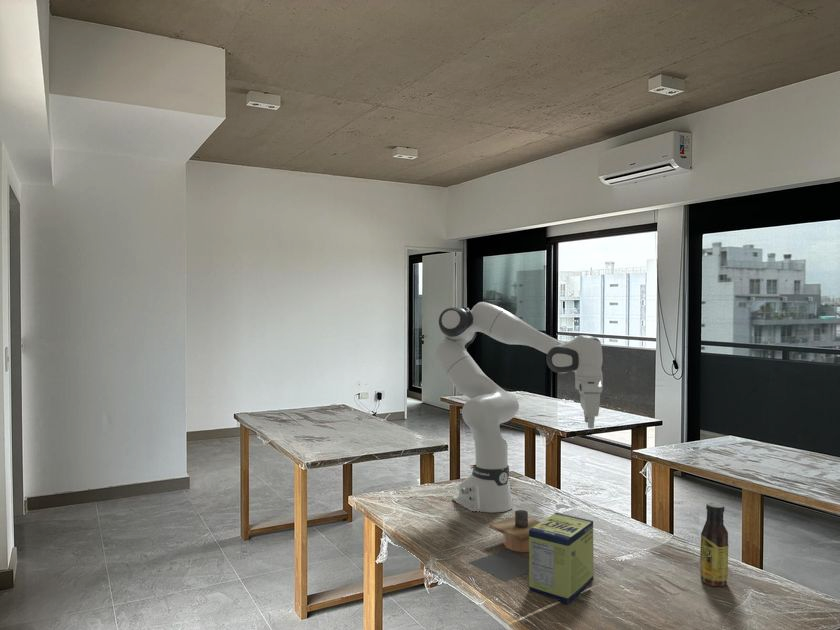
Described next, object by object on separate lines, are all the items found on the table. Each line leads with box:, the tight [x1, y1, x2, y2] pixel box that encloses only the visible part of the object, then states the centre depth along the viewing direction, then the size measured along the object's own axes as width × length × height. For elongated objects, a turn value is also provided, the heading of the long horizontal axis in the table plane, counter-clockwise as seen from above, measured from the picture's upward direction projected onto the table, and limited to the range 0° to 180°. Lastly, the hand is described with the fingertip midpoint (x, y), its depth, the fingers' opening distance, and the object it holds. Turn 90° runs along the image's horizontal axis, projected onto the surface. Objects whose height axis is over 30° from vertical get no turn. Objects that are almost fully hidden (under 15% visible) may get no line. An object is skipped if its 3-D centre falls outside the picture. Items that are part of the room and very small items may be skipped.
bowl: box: [502, 533, 529, 553], centre depth 176 cm, size 10×10×5 cm
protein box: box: [528, 512, 594, 605], centre depth 151 cm, size 10×16×16 cm
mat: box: [468, 549, 529, 582], centre depth 163 cm, size 14×14×1 cm
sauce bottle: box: [699, 501, 729, 587], centre depth 153 cm, size 7×6×20 cm
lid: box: [488, 509, 542, 542], centre depth 176 cm, size 13×13×5 cm
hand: (589, 425), depth 204 cm, fingers open, 8 cm apart
